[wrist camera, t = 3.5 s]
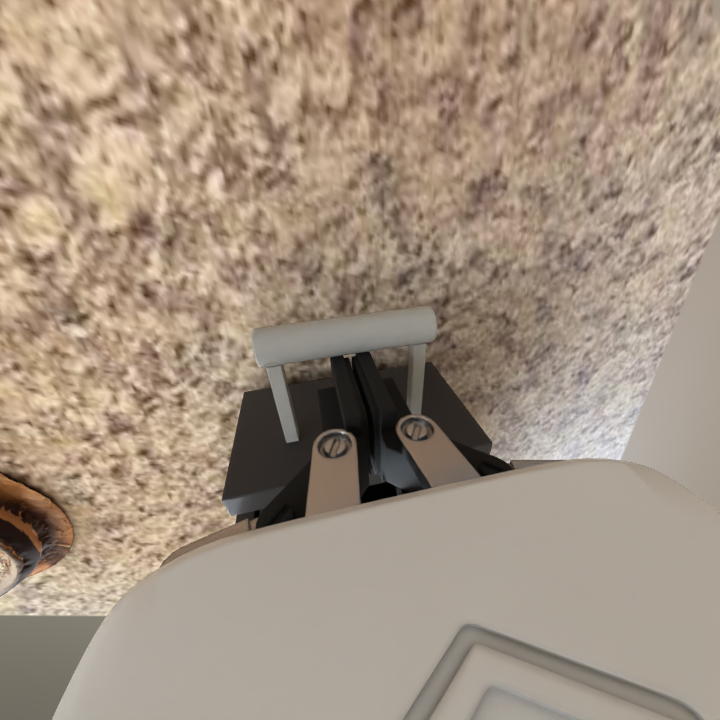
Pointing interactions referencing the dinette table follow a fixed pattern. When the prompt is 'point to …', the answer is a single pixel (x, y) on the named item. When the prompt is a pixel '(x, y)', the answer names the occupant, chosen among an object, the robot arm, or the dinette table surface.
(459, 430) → the drawer
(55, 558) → the bowl on brown plate
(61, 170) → the dinette table surface
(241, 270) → the dinette table surface
